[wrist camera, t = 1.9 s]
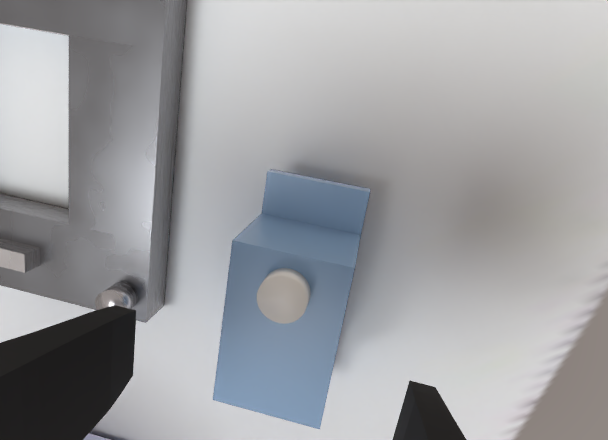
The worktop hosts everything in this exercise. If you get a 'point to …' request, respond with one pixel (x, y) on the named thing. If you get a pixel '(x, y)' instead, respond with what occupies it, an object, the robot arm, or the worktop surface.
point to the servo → (289, 297)
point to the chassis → (104, 157)
